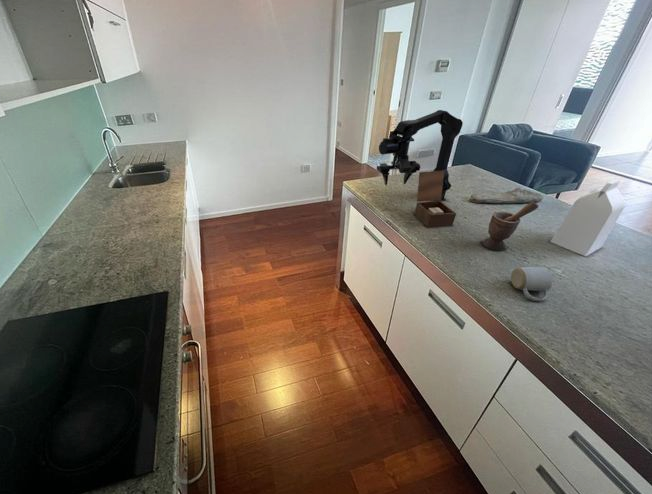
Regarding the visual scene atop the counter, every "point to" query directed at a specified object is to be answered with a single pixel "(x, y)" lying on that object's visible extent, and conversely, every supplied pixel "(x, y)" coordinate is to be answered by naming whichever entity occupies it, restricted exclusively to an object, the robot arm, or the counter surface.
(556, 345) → the counter surface
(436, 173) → the lid
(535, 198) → the elongated rock
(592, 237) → the milk
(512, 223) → the mortar and pestle
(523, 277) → the ceramic mug
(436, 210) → the block
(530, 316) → the counter surface
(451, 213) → the chest
